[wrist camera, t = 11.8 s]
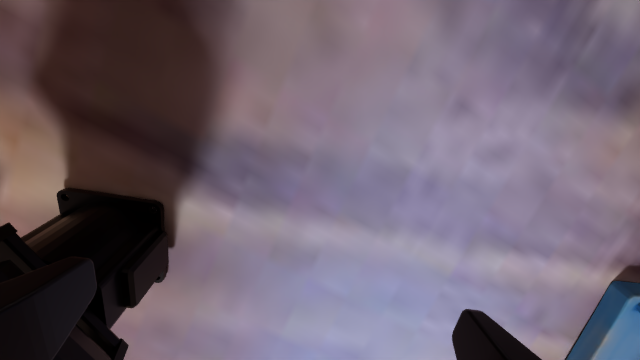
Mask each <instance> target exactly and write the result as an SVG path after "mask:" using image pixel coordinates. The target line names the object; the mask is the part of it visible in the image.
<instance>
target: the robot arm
mask: <svg viewBox="0 0 640 360" xmlns="http://www.w3.org/2000/svg"><path fill="white" fill-rule="evenodd" d="M66 195H67V196H68V197H69V198H68V197H67V196H66ZM57 200H58V205H59V210H60V215H58V216H56V217H55V218H53V219H51V220H50V221H48V222H46V223H45V224H43V225H41V226H40V227H38V228H36V229H35V230H33V231H31V232H30V233H28V234H26V235H25V236H23V237H21V238H20V237H19V236H18V235H17V234H16V232H17V230H16V229H15V228H14V227H13V226H12V225H11V224H10V223H7V224H5V225H2V226H0V360H123V359H124V356H125V354H126V351H127V349H128V344H127V343H126V342H125V341H124V340H123V339H119V338H118V337H117V336H116V335H115V334H114V333H113V332H112V331H111V330H110V329H111V327H112V326H113V325H114V323H115V322H116V321H117V320H118V318H119V317H120V316H121V314H122V313H123V312H124V311H125V309H126V308H134V307H135V306H136V305H138V303H139V302H140V301H141V299H142V298H143V297H144V295H145V294H146V293H147V291H148V290H149V289H150V287H151V286H152V285H153V283H154V282H155V283H160V282H162V281H163V280H164V279H165V277H166V266H167V265H168V239H167V234H166V232H165V228H164V208H163V205H162V204H161V203H160V202H159V201H156V200H149V199H142V198H135V197H128V196H121V195H114V194H107V193H101V192H94V191H87V190H80V189H73V188H65V189H63V190H61V191H59V192H58V193H57ZM152 207H155V208H156V210H157V211H156V210H154V209H153V208H152ZM452 341H453V346H454V350H455V354H456V358H457V360H542V359H540V358H539V357H538V356H537V355H535V354H534V353H533V352H532V351H530V350H529V349H528V348H527V347H526V346H524V345H523V344H522V343H521V342H519V341H518V340H517V339H516V338H514V337H513V336H512V335H511V334H510V333H508V332H507V331H506V330H505V329H503V328H502V327H501V326H500V325H498V324H497V323H496V322H495V321H494V320H492V319H491V318H490V317H489V316H487V315H486V314H485V313H484V312H482V311H479V310H471V309H465V310H464V311H462V313H461V315H460V317H459V320H458V322H457V324H456V326H455V328H454V330H453V334H452Z"/></svg>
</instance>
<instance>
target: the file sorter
mask: <svg viewBox="0 0 640 360" xmlns="http://www.w3.org/2000/svg"><path fill="white" fill-rule="evenodd" d="M566 360H640V283H632V282H623V281H613V282H612V283H611V284H610V286H609V287H608V289H607V291H606V293H605V294H604V296H603V298H602V300H601V301H600V303H599V305H598V307H597V308H596V310H595V312H594V314H593V315H592V317H591V319H590V320H589V322H588V324H587V325H586V327H585V329H584V331H583V332H582V334H581V336H580V337H579V339H578V341H577V343H576V344H575V346H574V348H573V350H572V351H571V353H570V354H569V356H568V358H567V359H566Z"/></svg>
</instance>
